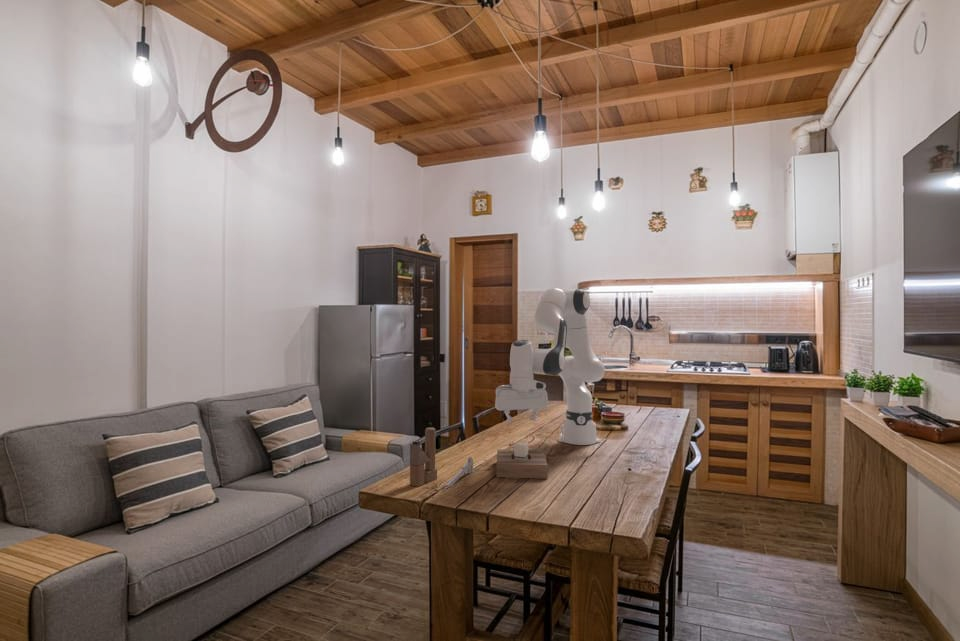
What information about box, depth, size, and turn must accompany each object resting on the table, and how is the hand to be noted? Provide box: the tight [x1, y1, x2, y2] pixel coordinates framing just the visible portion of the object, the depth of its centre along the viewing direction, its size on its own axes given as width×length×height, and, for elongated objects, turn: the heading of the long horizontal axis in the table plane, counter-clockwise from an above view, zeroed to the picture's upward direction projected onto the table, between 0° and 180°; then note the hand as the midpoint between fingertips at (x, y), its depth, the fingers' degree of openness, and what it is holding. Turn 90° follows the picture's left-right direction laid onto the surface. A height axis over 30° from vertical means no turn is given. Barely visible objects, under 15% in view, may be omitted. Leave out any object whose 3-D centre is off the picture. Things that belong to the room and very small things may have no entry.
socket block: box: [496, 448, 549, 480], centre depth 190 cm, size 20×18×5 cm
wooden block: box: [409, 426, 438, 488], centre depth 176 cm, size 4×11×18 cm, turn 147°
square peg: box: [513, 441, 529, 459], centre depth 190 cm, size 4×4×10 cm
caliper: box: [444, 456, 474, 489], centre depth 178 cm, size 20×1×6 cm, turn 155°
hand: (521, 421), depth 190 cm, fingers open, 8 cm apart
